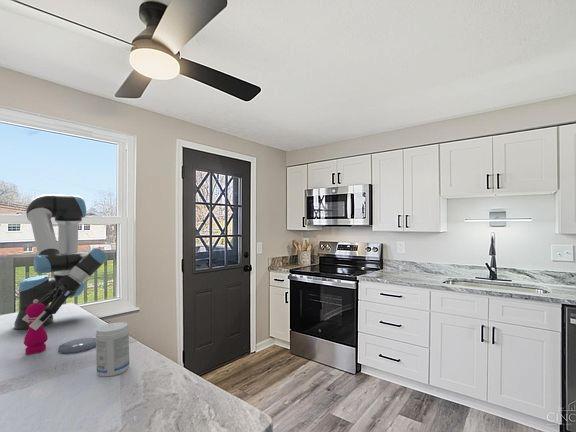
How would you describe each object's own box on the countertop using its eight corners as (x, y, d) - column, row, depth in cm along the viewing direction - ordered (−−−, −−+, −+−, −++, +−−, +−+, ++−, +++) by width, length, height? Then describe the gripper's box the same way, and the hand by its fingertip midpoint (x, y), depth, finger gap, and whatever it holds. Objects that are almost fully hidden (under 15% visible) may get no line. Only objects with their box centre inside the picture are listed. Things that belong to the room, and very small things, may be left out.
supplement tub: (129, 362, 111) (129, 320, 112) (129, 373, 103) (128, 328, 103) (97, 368, 107) (97, 324, 108) (94, 380, 99) (94, 333, 99)
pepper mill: (52, 347, 127) (52, 297, 127) (36, 355, 119) (36, 301, 120) (35, 347, 127) (35, 297, 128) (18, 354, 120) (18, 301, 120)
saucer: (49, 350, 123) (49, 348, 123) (84, 338, 136) (84, 335, 136) (74, 355, 118) (74, 352, 118) (107, 342, 131) (107, 339, 131)
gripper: (91, 288, 127) (44, 336, 115) (72, 281, 144) (30, 323, 132) (75, 277, 123) (26, 325, 112) (58, 271, 140) (14, 313, 128)
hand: (28, 324), depth 122 cm, fingers open, 13 cm apart
